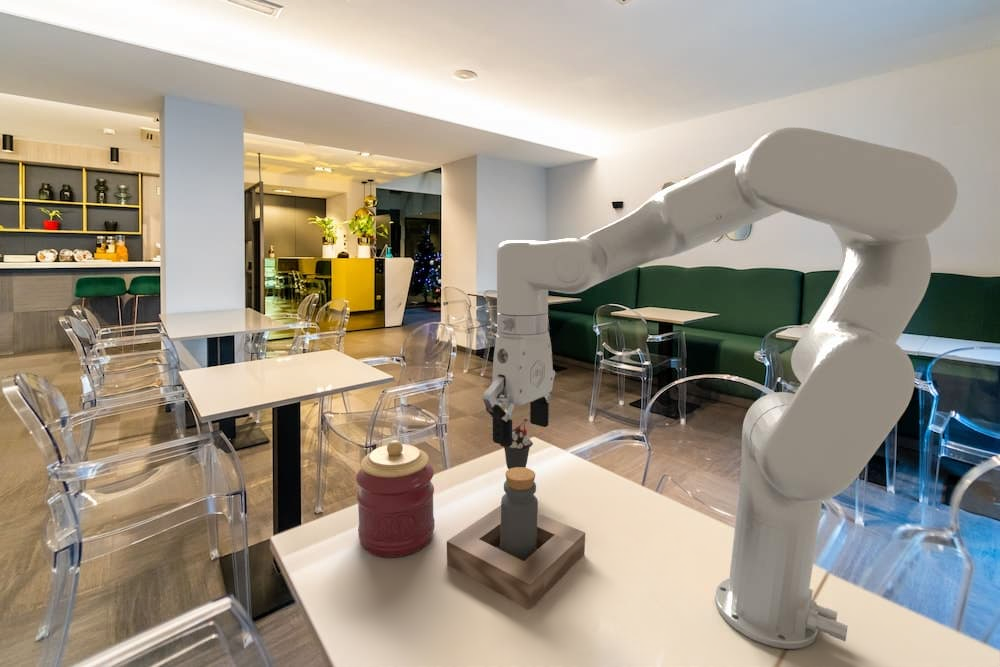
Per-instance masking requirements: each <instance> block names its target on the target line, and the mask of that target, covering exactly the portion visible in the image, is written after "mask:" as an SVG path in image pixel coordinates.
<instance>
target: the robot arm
mask: <svg viewBox="0 0 1000 667" xmlns="http://www.w3.org/2000/svg"><path fill="white" fill-rule="evenodd" d="M957 186H958V185H957V183H956V180H955V178H954V176H953V174H952V173H951V172H950V170H949V168H946V167H945V166H944V165H943V164H942V163H941V162H939V161H937V160H935V159H933V158H931V157H929V156H926V155H923V154H919V153H915V152H911V151H908V150H904V149H900V148H895V147H891V146H886V145H881V144H877V143H873V142H869V141H864V140H859V139H855V138H853V137H852V138H851V137H849V136H848V137H847V136H845V135H844V136H843V135H839V134H834V133H830V132H825V131H821V130H817V129H811V128H805V127H783V128H778V129H775V130H773V131H770V132H768V133H766V134H765V135H763V136H761V137H760V138H759V139H758V140H757V141H755V142H754V144H752V145H751V147H750V148H749V149H747V150H744V151H742V152H740V153H737V155H733V156H732V157H730V158H728V159H725V160H724V161H722V162H720V163H718V164H716V165H714V166H711V167H709V168H707V169H705V170H703V171H700V172H699V173H696V174H695V175H692V176H690V177H688V178H685V179H683V180H681V181H679V182H677V183H674V184H672V185H670V186H668V187H666V188H664V189H662V190H660V191H659V192H657V193H655V194H654V195H653V196H651V197H650V198H648V200H646V201H645V202H644V203H643V204H642V205H640V207H638V208H637V209H635V210H633V211H632V212H631V213H629V214H627V215H626V216H624V217H622V218H621V219H618V220H616V221H614V222H613V223H610V224H608V225H607V226H604V227H602V228H600V229H598V230H595V231H593V232H591V233H588V234H587V235H584V236H582V237H568V238H560V239H555V240H548V241H542V240H537V239H534V240H533V239H530V240H529V239H516V240H515V239H512V240H504V241H502V242H500V243H499V244H498V246H497V249H496V250H497V251H496V338H495V344H494V350H493V362H492V377H491V378H492V381H491V382H492V383H491V384H490V386H489V387H488V388H487V389H486V390H485V391H484V392H483V393H482V397H481V398H482V400H483V403H484V405H485V410H486V411H487V413H488V414H489V417H490V418H491V419H492V441H493V443H494V444H498V445H500V444H501V445H504V446H507V447H509V446H511V445H512V430H513V420H512V419H510V417H511V416H512V413H513V411H514V408H515V406H516V407H522V406H525V405H527V404H530V405H529V410H530V412H529V413H530V414H529V416H530V417H529V422H530V424H532V425H535V426H539V427H542V428H547V427H548V426H549V416H550V414H549V410H550V409H549V406H550V405H549V404H550V402H551V399H552V397H551V393H552V390H553V389H554V381H555V376H556V371H555V369H554V368H553V352H552V343H551V342H552V341H551V337H550V336H551V335H550V333H549V330H548V327H549V325H548V324H549V291H550V292H556V293H559V294H561V293H562V294H570V295H571V294H572V295H573V294H579V293H582V292H584V291H587V290H588V289H590V288H592V287H594V286H596V285H598V284H600V283H602V282H605V281H607V280H611V279H612V278H615V277H616V276H619V275H621V274H623V273H625V272H628V271H631V270H633V269H635V268H639V267H640V266H643V265H645V264H648V263H651V262H653V261H656V260H660V259H665V258H669V257H674V256H676V255H680V254H683V253H685V252H688V251H690V250H693V249H695V248H698V247H699V246H700V247H701V245H702V246H703V245H704V244H706V243H709V242H711V241H713V240H716V239H718V238H721V237H723V236H725V235H728V234H730V233H733V232H735V231H738V230H739V229H742V228H744V227H747V226H749V225H752V224H754V223H756V222H759V221H761V220H764V219H767V218H768V217H771V216H773V215H776V214H778V213H781V212H782V211H783V212H787V213H789V214H793V215H796V216H799V217H802V218H805V219H808V220H812V221H816V222H819V223H821V224H822V223H823V224H826V225H829V226H830V228H831V230H832V231H833V232H834V234H835V235H836V237H837V238H838V240H839V242H840V246H841V251H842V262H841V267H840V270H839V272H838V275H837V277H836V279H835V281H834V283H833V285H832V286H831V288H830V290H829V293H828V294H827V296H826V297H825V299H824V300H823V302H822V304H821V305H820V307H819V309H818V310H817V311H816V314H815V315H814V317H813V318H812V320H811V321H810V323H809V324H808V326H807V327H806V329H805V330H804V333H803V334H802V335H801V336H800V338H799V339H798V340H797V343H796V344H795V346H794V348H793V350H792V353H791V357H790V365H791V369H792V372H793V374H794V376H795V377H796V378H797V380H798V381H799V382H800V385H799V387H798V388H797V390H796V392H795V393H792V392H789V391H788V392H787V391H778V392H771V393H768V394H765V395H763V396H761V397H760V398H758V399H757V400H755V401H754V402H753V403H752V405H751V406H750V407H749V408H748V409H747V412H746V414H745V417H744V419H743V424H742V431H741V433H742V434H741V467H740V480H739V488H738V489H739V490H738V499H737V506H736V515H735V524H734V534H733V542H732V550H731V551H732V552H731V560H730V571H729V578H727V579H725V580H723V581H721V582H720V583H719V584H718V585H717V587H716V590H715V595H714V596H715V597H714V598H715V604H716V608H717V610H718V612H719V613H720V615H721V617H723V618H724V620H725V621H726V622H727V623H728V624H729V625H730V626H732V628H734V629H735V630H737V631H738V632H740V633H741V634H743V635H744V636H746V637H748V638H749V639H751V640H754V641H756V642H758V643H761V644H764V645H766V646H770V647H773V648H780V649H785V650H786V649H789V650H790V649H791V650H792V649H793V650H794V649H802V648H805V647H808V646H810V645H811V644H812V643H814V642H815V641H816V638H817V636H818V631H820V632H822V633H825V634H828V635H829V636H831V637H833V638H836V639H838V640H841V641H843V642H846V641H847V634H848V625H847V624H845V623H842V622H840V621H837V618H838V611H835V610H833V609H830V608H829V607H824V606H821V605H819V604H818V603H817V602H816V601H814V600H812V599H813V594H814V593H813V592H814V590H813V589H812V588H810V586H811V582H812V574H813V566H814V559H815V552H816V546H817V539H818V532H819V525H820V520H821V513H822V503H823V502H824V501H827V500H829V499H832V498H834V497H836V496H837V495H839V494H840V493H842V492H843V491H845V490H846V489H847V488H848V487H849V486H850V485H852V483H853V482H854V481H855V480H856V479H857V478H858V477H859V475H860V474H861V472H862V471H863V469H864V468H865V467H867V466H866V465H868V463H869V462H870V461H871V459H872V457H873V456H874V455H875V453H876V452H877V451H878V449H879V448H880V446H881V445H882V444H883V442H884V441H885V440H886V438H887V437H888V435H890V432H891V431H893V430H892V429H893V428H894V427H895V426H896V424H897V423H898V422H899V420H900V419H901V417H902V416H903V414H904V413H905V411H906V409H907V408H908V406H909V404H910V401H911V400H912V397H913V393H914V389H915V385H916V384H915V383H916V376H915V369H914V365H913V363H912V360H911V359H910V357H909V355H908V354H907V352H906V351H905V350H904V349H903V348H902V347H901V346H900V345H899V344H897V342H898V340H899V338H900V337H901V336H902V334H903V332H904V331H905V329H906V327H907V325H908V324H909V322H910V321H911V319H912V317H913V316H914V313H915V312H916V310H917V309H918V308H919V306H920V304H921V302H922V300H923V298H924V296H925V294H926V292H927V290H928V289H927V288H928V287H929V284H930V279H931V274H932V273H931V272H932V255H931V250H930V244H929V240H928V238H927V236H928V235H929V234H931V233H933V232H934V231H936V230H937V229H939V228H940V227H941V226H942V225H943V224H944V223H945V222H946V221H947V220H948V219H949V217H950V216H951V215H952V213H953V211H954V209H955V206H956V204H957V199H958V187H957ZM502 405H505V408H504V409H503V408H502Z"/></svg>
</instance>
